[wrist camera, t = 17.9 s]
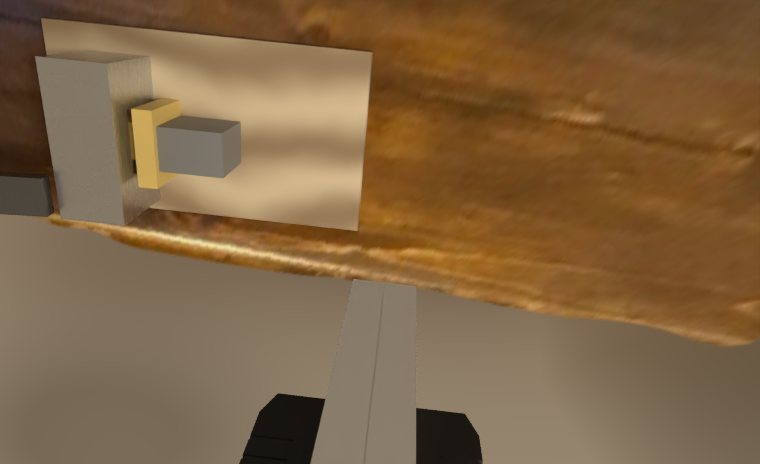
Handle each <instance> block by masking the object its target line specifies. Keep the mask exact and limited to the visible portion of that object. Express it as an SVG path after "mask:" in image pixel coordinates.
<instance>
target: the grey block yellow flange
mask: <svg viewBox="0 0 760 464" xmlns="http://www.w3.org/2000/svg"><path fill="white" fill-rule="evenodd" d="M127 116H128V126H129V136H130V146H131V156H132V160H136V165H137V175H138V186H139V187H143V188H152V189H159V188H160V187H161V186H163V185H164V184H166V183H167V182H169V181H170V180H172V179H173V178H174V177H176V176H177V175H179V174H186V175H195V176H205V177H214V178H224V177H226V176H227V175H228V174H229V173H230V172H231V171H232V170H234V169H235V168H236V167H237V166H238V165H239V164H240V163H241V122H240V121H230V120H220V119H211V118H201V117H191V116H181V111H180V100H174V99H165V98H161V99H158V100H155V101H152V102H149V103H146V104H143V105H141V106H138V107H135V108H132V109H131V113H127Z"/></svg>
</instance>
